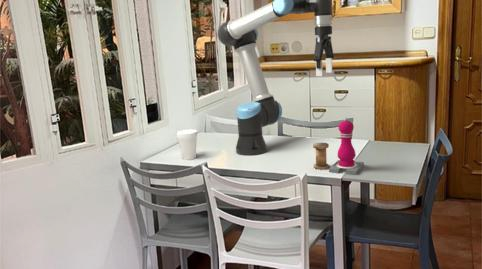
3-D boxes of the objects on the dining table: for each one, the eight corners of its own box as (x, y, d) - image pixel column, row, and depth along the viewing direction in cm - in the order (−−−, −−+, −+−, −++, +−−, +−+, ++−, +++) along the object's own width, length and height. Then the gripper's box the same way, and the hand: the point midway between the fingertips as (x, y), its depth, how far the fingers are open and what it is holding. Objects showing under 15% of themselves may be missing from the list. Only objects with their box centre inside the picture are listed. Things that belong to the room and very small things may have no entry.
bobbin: (311, 169, 193) (310, 145, 191) (316, 164, 199) (315, 142, 196) (326, 170, 190) (325, 146, 188) (331, 166, 196) (330, 143, 193)
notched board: (328, 172, 187) (328, 168, 187) (338, 163, 198) (338, 159, 198) (355, 174, 182) (355, 170, 182) (363, 165, 193) (363, 161, 193)
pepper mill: (356, 162, 192) (355, 115, 188) (354, 167, 185) (354, 118, 181) (338, 162, 194) (337, 115, 190) (336, 167, 188) (335, 118, 183)
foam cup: (175, 160, 220) (173, 133, 217) (185, 155, 228) (182, 129, 226) (193, 161, 216) (191, 134, 214) (202, 155, 225) (200, 129, 222)
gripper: (322, 25, 190) (323, 77, 195) (339, 24, 211) (340, 71, 216) (305, 26, 194) (306, 77, 198) (324, 25, 215) (325, 71, 220)
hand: (324, 74), depth 207 cm, fingers open, 13 cm apart
